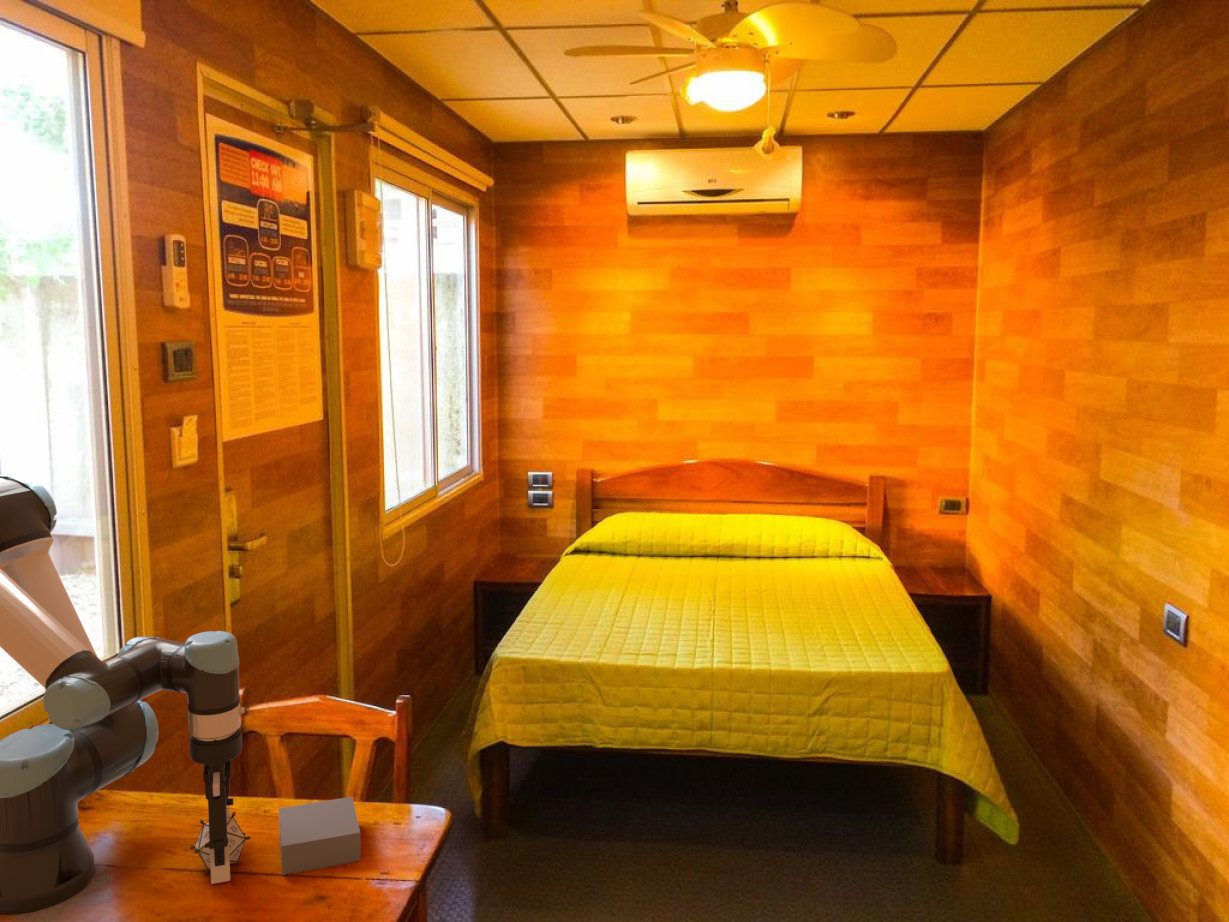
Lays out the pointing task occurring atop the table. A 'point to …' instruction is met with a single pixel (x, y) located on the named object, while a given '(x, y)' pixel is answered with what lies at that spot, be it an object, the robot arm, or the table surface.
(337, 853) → the gray block
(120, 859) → the table surface
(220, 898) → the table surface
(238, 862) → the game die
